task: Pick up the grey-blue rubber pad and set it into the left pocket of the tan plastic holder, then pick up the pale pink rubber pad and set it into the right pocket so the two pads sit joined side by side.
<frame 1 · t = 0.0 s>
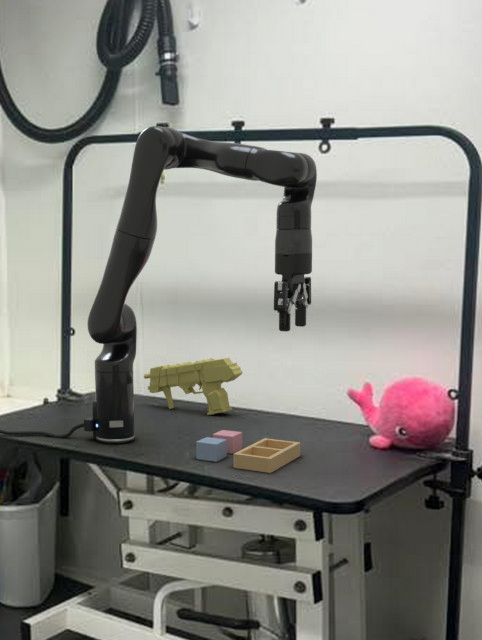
hand: (292, 328, 197), 29 cm above the table, tool pointing down, fingers open, 8 cm apart
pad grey: (211, 458, 209), on the table
pad holder: (267, 461, 204), on the table
firearm: (190, 411, 258), on the table
pad pink: (227, 450, 215), on the table
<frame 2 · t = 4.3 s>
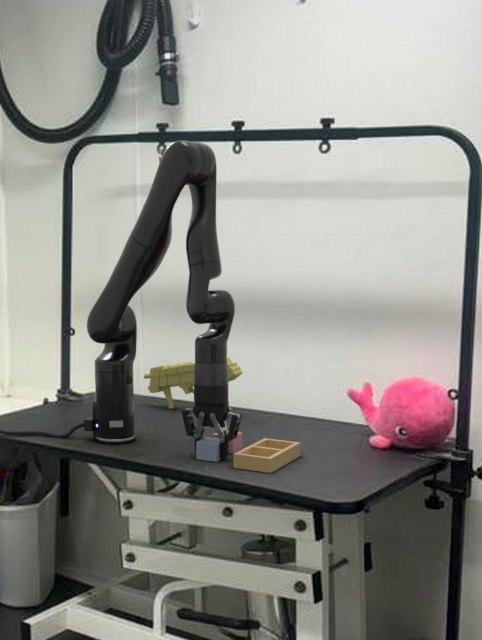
hand: (211, 456, 209), 0 cm above the table, tool pointing down, fingers closed on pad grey, 5 cm apart
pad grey: (211, 458, 209), on the table, touching gripper
everything else where it was.
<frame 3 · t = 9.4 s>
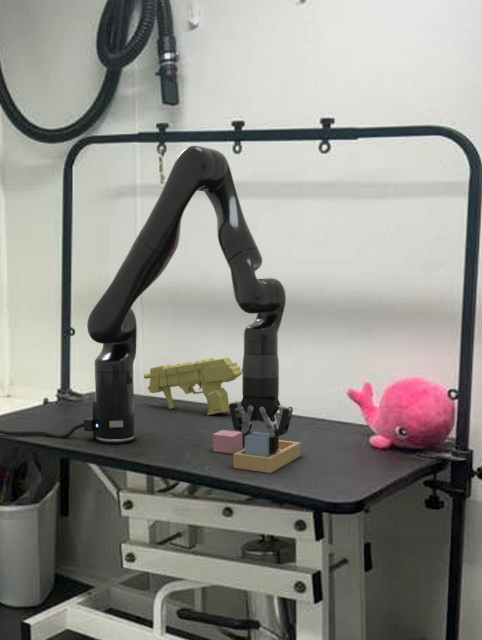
hand: (260, 451, 201), 3 cm above the table, tool pointing down, fingers closed on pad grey, 5 cm apart
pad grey: (260, 453, 201), point 3 cm above the table, touching gripper
everything else where it was.
when the fingers open (3 cm above the table, at t = 14.5 s): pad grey drops 2 cm, resting on pad holder.
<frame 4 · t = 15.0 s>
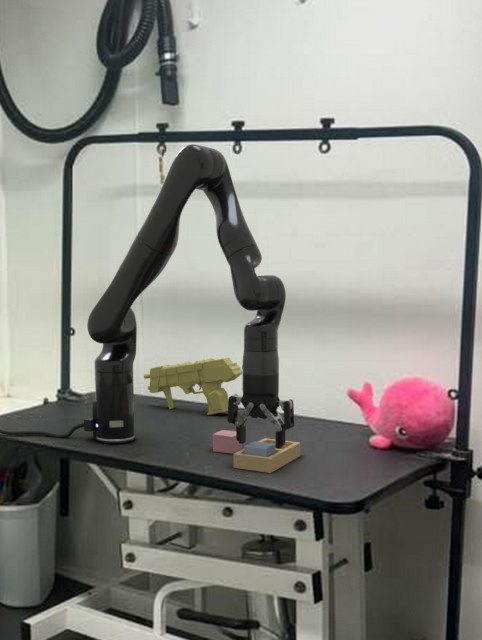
hand: (260, 445, 200), 4 cm above the table, tool pointing down, fingers open, 8 cm apart
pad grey: (259, 463, 201), point 1 cm above the table, touching pad holder
everything else where it was.
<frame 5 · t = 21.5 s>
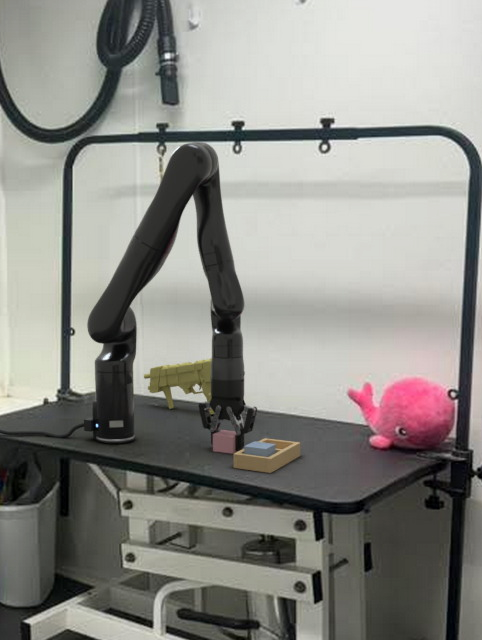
hand: (227, 448, 215), 0 cm above the table, tool pointing down, fingers closed on pad pink, 5 cm apart
pad pink: (227, 450, 215), on the table, touching gripper
everything else where it was.
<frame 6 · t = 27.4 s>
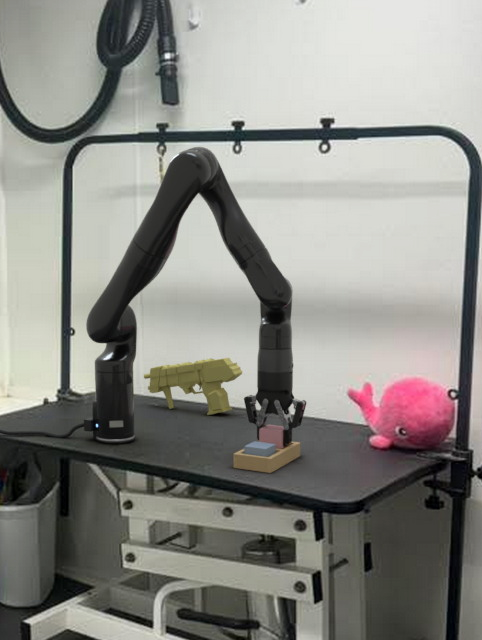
hand: (274, 443, 207), 3 cm above the table, tool pointing down, fingers closed on pad pink, 5 cm apart
pad pink: (274, 445, 207), point 3 cm above the table, touching gripper
everything else where it was.
when the fingers open (3 cm above the table, at t = 31.9 s): pad pink drops 2 cm, resting on pad holder.
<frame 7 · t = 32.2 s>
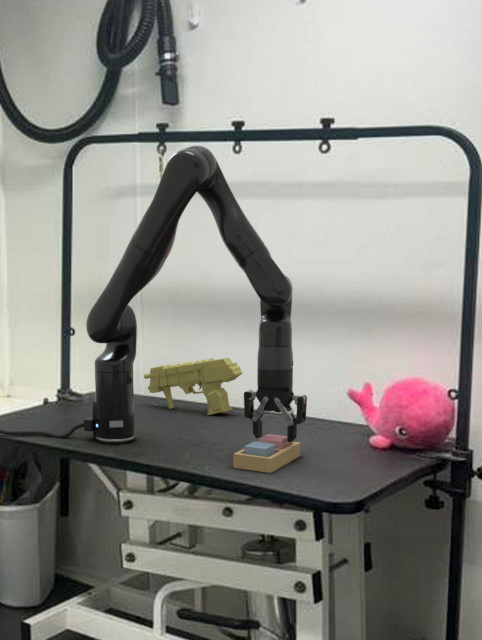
hand: (274, 439, 206), 4 cm above the table, tool pointing down, fingers open, 7 cm apart
pad pink: (274, 455, 207), point 1 cm above the table, touching pad holder
everything else where it was.
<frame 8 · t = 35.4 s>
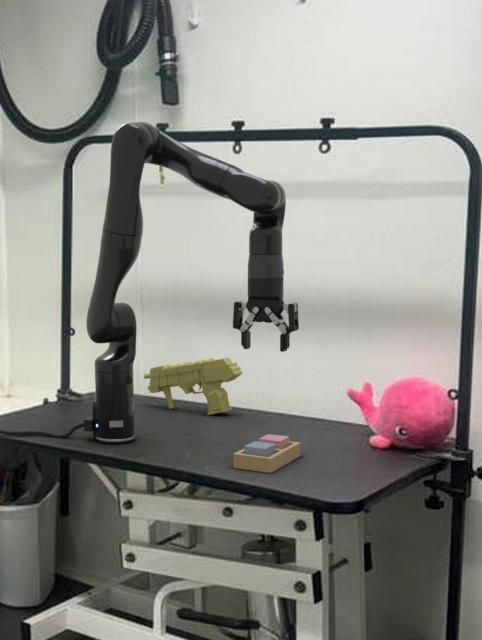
hand: (265, 349, 204), 24 cm above the table, tool pointing down, fingers open, 8 cm apart
nothing on the table moved.
at the end: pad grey 0.1 cm from the target spot in the pad holder, point 0.6 cm above the pad holder's base; pad pink 0.1 cm from the target spot in the pad holder, point 0.6 cm above the pad holder's base; pad pink 7.6 cm from the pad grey (horizontally) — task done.
